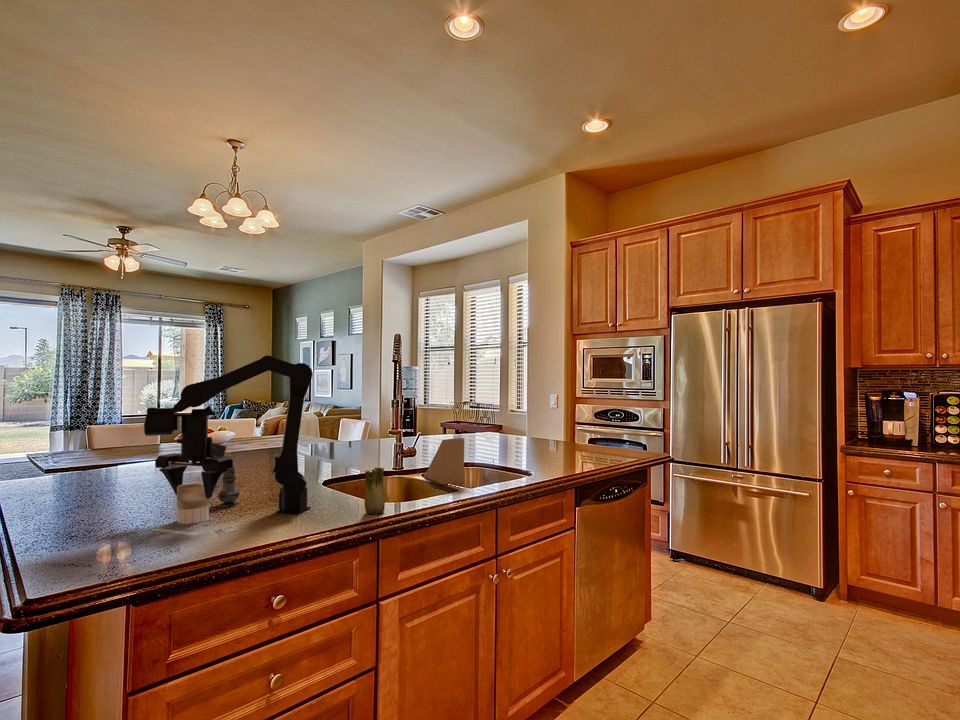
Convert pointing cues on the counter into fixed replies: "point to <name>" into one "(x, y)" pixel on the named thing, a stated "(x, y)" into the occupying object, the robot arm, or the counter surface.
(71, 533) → the counter surface
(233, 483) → the salt shaker
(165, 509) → the counter surface
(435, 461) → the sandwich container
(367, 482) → the fennel bulb
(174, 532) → the mat
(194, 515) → the bowl
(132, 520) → the counter surface
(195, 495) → the beige rounded cylinder
